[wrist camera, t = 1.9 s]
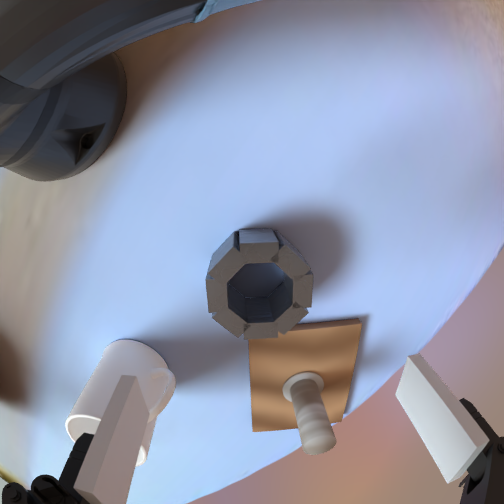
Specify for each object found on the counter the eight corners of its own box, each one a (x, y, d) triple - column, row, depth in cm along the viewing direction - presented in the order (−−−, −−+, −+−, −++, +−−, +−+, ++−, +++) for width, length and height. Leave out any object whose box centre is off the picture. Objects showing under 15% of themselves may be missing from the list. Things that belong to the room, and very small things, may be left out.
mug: (166, 318, 29) (134, 398, 17) (207, 375, 31) (198, 459, 20) (90, 351, 30) (47, 418, 18) (131, 399, 32) (105, 470, 21)
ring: (208, 230, 27) (202, 245, 22) (300, 227, 27) (314, 240, 22) (215, 313, 29) (211, 340, 24) (298, 309, 29) (309, 335, 25)
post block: (247, 327, 30) (253, 396, 20) (358, 318, 30) (399, 375, 20) (252, 425, 34) (257, 487, 24) (339, 415, 35) (360, 471, 25)
